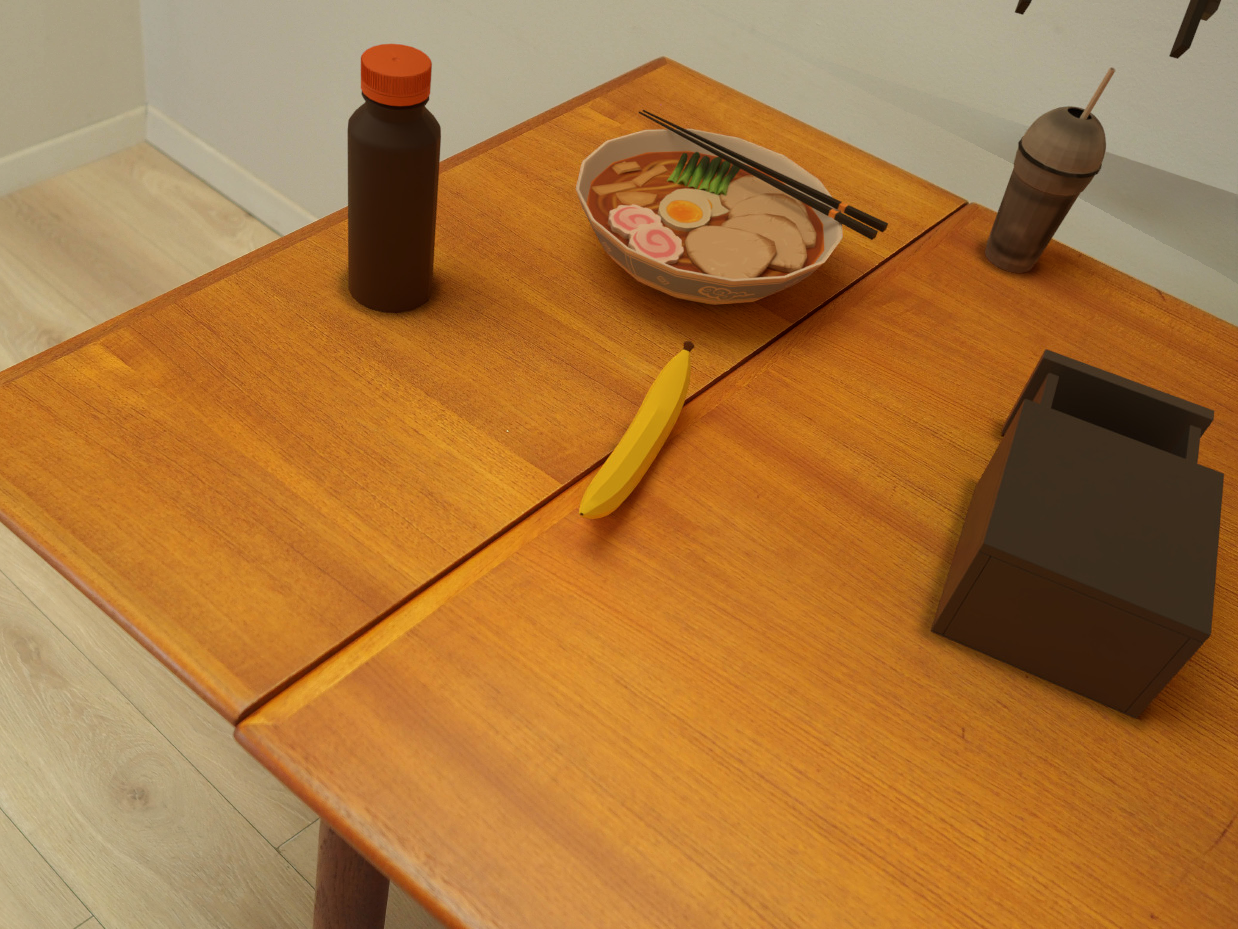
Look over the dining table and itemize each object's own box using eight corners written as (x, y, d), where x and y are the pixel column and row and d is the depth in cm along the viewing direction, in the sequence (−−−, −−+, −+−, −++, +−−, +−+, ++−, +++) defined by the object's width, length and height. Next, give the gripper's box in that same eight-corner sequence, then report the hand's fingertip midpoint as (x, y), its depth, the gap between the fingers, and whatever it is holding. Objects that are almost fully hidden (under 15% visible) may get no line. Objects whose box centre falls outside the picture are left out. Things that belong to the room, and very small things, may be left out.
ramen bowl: (500, 253, 101) (510, 169, 95) (659, 167, 114) (676, 89, 108) (732, 400, 92) (759, 317, 86) (876, 288, 105) (908, 209, 99)
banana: (551, 555, 78) (563, 490, 74) (656, 397, 91) (672, 333, 86) (590, 572, 78) (605, 507, 73) (690, 411, 90) (708, 347, 85)
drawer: (1012, 395, 95) (1053, 319, 89) (1165, 453, 92) (1218, 378, 87) (967, 542, 83) (1012, 464, 77) (1142, 613, 80) (1202, 539, 75)
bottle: (330, 290, 95) (326, 54, 80) (391, 259, 99) (397, 28, 84) (389, 331, 92) (395, 94, 78) (448, 297, 96) (465, 65, 81)
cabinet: (971, 493, 88) (1024, 398, 81) (1153, 565, 85) (1224, 473, 78) (926, 637, 78) (983, 542, 71) (1131, 725, 75) (1211, 635, 68)
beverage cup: (1021, 241, 113) (1120, 41, 99) (1058, 286, 109) (1167, 84, 94) (954, 242, 112) (1045, 39, 97) (989, 289, 107) (1089, 83, 92)
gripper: (1319, -154, 101) (1227, 85, 103) (1034, -227, 104) (950, 6, 106) (1366, -203, 93) (1266, 55, 95) (1058, -281, 96) (967, -29, 98)
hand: (1100, 30), depth 100 cm, fingers open, 13 cm apart
